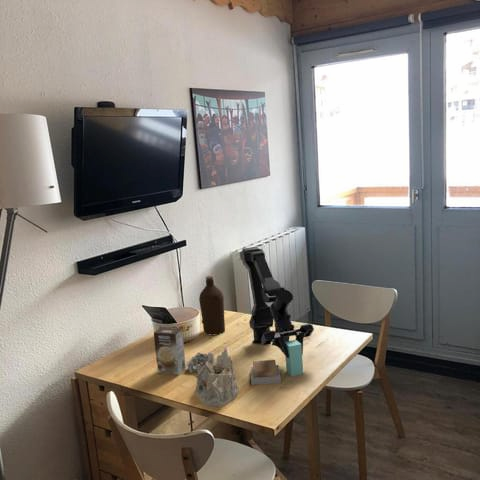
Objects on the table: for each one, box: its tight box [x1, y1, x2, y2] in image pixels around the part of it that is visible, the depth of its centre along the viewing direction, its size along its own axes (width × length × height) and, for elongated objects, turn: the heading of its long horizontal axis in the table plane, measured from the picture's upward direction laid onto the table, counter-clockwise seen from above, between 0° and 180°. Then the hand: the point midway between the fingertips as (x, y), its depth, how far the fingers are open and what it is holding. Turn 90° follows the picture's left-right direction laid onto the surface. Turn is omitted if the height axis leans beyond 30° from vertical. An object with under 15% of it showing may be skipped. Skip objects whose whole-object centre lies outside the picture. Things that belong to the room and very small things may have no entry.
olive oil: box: [198, 275, 226, 336], centre depth 231 cm, size 11×11×25 cm
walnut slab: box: [252, 359, 277, 378], centre depth 184 cm, size 8×8×2 cm
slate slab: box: [250, 364, 282, 385], centre depth 185 cm, size 10×10×2 cm
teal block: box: [284, 339, 304, 377], centre depth 186 cm, size 4×4×11 cm
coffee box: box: [153, 326, 187, 376], centre depth 195 cm, size 9×6×16 cm
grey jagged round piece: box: [195, 347, 240, 407], centre depth 174 cm, size 16×16×15 cm
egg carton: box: [185, 352, 208, 374], centre depth 198 cm, size 11×8×4 cm
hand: (295, 356), depth 184 cm, fingers open, 5 cm apart
